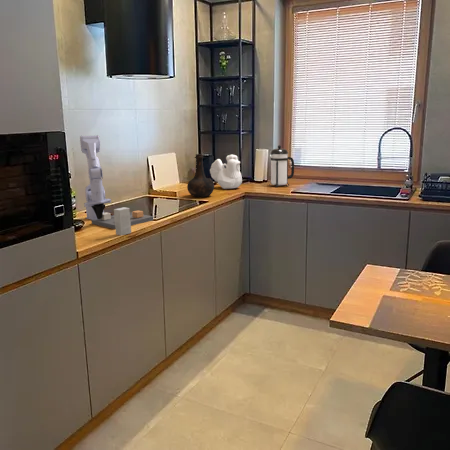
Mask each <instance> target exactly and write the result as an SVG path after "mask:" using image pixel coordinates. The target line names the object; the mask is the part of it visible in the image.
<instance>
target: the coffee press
mask: <svg viewBox="0 0 450 450" xmlns="http://www.w3.org/2000/svg"><path fill="white" fill-rule="evenodd" d="M281 147H282V146H281V145H280V144H279V145H278V146H277V148H273V149H271V151H270V155H269V157H270V183H269V186H270V187H271V186H275V188H278V187H279V186H286V187H289V186H290V184H289V182H288V180H289V179H293V177H294V175H295V160H294V159H293V157H292V156H288V154H289V151H288V150H287V149H286V148H281ZM289 160H290V161H291V167H290V168H291V169H290V170H291V171H290V172H291V174H290V175H289V176H288V173H289V172H288V170H289V168H288V167H289V165H288V164H289Z"/></svg>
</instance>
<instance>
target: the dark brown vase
mask: <svg viewBox="0 0 450 450" xmlns="http://www.w3.org/2000/svg"><path fill="white" fill-rule="evenodd" d="M204 157H205V156H203V154H202V153H196V154H195V157H194V159H195V170H194V171H195V172H194V176H193V177H192V179H190V180H189V181H188V183H187V186H186V187H187V191H188V193H189V195H191V196H192V197H194V198H207V197H209V196H211V195H212V194H213V192H214V189H215V184H214V181H213V180H212V179H211V178H210V177H209V178H207V177H206V174H205V171H204V170H205V168H204V162H203V161H204V160H203V158H204Z"/></svg>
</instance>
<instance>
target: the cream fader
mask: <svg viewBox="0 0 450 450" xmlns="http://www.w3.org/2000/svg"><path fill="white" fill-rule="evenodd" d="M111 214H112V213H110V212H105V211H104V213H103V214H102V220H107V219H111V216H112V215H111Z"/></svg>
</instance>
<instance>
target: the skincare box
mask: <svg viewBox="0 0 450 450" xmlns="http://www.w3.org/2000/svg"><path fill="white" fill-rule="evenodd" d="M130 212H131V211H130V207H126V206H125V207H117V208H114V209H113V215H114V218H115V229H114V230H115V235H117V236H120V237H121V236H125V235H128V234H129V235H130V234H132V226H131V222H130Z"/></svg>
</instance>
